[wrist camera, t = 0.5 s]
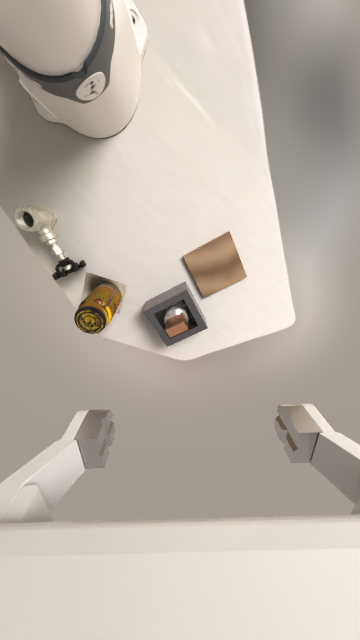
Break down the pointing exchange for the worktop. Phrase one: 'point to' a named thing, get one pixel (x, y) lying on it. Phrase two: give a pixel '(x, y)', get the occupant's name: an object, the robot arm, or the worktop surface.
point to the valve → (45, 234)
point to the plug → (176, 319)
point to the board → (215, 265)
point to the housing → (168, 299)
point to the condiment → (98, 303)
